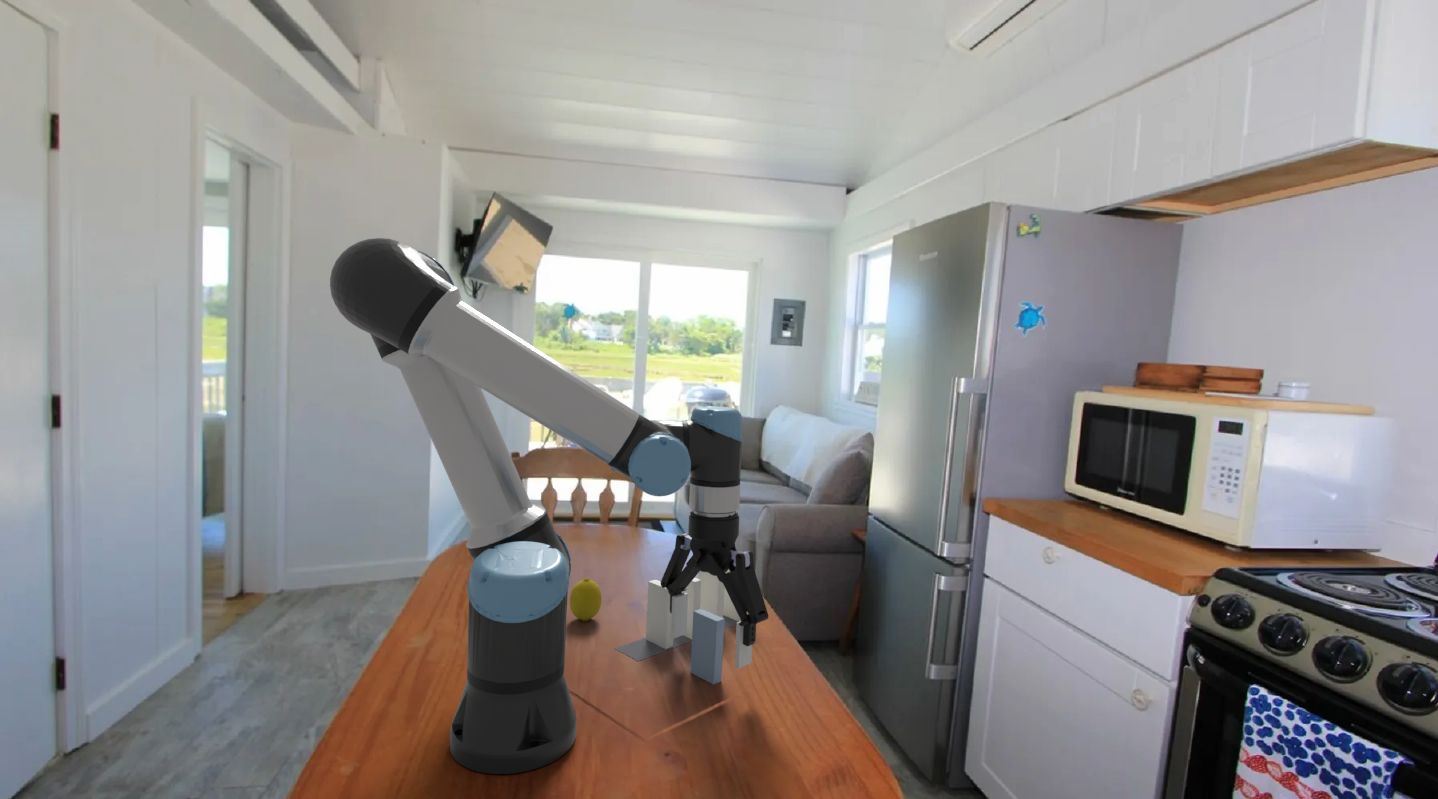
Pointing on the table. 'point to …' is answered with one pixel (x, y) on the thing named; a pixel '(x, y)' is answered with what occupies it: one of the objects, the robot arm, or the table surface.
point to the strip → (647, 649)
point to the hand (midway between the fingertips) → (709, 649)
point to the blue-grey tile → (707, 646)
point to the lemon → (585, 599)
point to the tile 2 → (658, 615)
